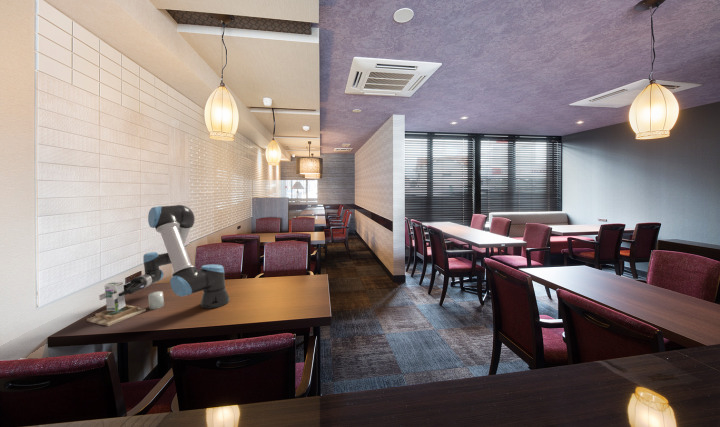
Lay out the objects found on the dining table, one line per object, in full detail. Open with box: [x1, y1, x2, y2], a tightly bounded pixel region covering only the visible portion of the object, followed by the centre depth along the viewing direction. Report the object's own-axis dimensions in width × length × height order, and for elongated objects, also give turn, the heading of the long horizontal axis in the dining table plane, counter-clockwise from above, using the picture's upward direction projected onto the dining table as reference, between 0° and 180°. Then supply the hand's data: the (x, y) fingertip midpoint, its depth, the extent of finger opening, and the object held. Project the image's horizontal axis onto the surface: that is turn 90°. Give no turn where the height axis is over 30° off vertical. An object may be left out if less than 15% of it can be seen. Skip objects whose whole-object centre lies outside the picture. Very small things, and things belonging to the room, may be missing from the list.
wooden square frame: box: [86, 304, 147, 327], centre depth 153 cm, size 18×18×3 cm
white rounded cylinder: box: [147, 290, 165, 310], centre depth 164 cm, size 7×7×8 cm
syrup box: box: [104, 281, 126, 311], centre depth 152 cm, size 6×6×14 cm
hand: (106, 297), depth 147 cm, fingers closed on syrup box, 6 cm apart
